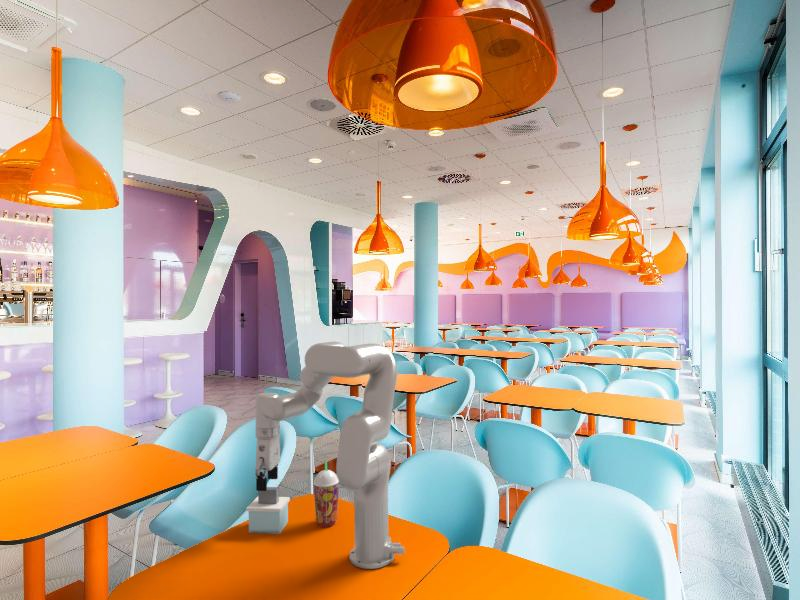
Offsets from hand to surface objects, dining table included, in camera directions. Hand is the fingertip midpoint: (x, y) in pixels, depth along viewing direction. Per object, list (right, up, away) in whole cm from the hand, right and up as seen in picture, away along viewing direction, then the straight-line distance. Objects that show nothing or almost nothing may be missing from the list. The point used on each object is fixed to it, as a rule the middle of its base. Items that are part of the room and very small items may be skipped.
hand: (267, 484), depth 152 cm
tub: (+1, -14, 0) cm, 14 cm away
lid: (+1, -7, 0) cm, 7 cm away
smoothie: (+19, -14, +2) cm, 23 cm away
